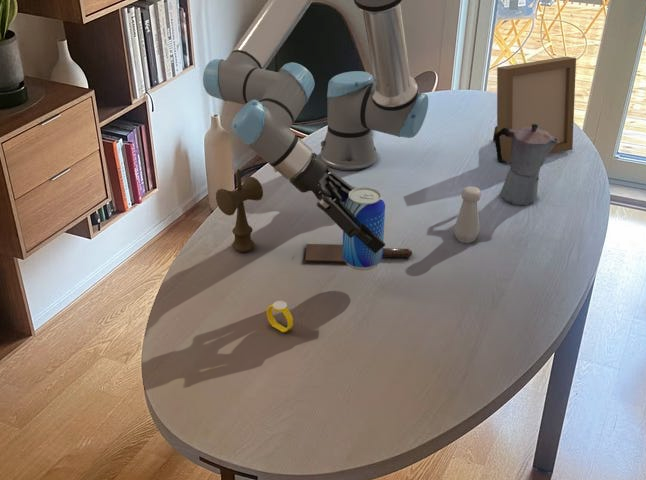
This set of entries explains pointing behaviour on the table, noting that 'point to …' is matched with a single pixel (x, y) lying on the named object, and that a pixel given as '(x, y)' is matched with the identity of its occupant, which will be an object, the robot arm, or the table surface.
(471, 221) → the salt shaker
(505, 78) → the photo frame
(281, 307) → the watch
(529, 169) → the moka pot
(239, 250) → the kendama
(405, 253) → the spatula
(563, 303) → the table surface
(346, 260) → the beer can
